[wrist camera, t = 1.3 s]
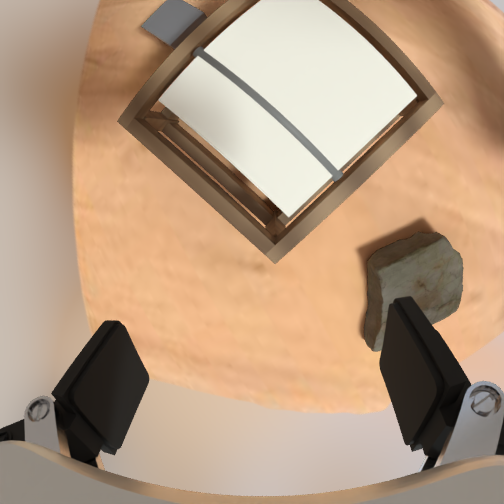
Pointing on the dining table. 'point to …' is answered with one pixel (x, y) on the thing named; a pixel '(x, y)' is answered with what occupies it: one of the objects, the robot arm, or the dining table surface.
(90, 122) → the dining table surface
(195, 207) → the dining table surface
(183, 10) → the basalt block
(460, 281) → the marble piece
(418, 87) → the walnut hatch frame
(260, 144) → the hatch leaf
